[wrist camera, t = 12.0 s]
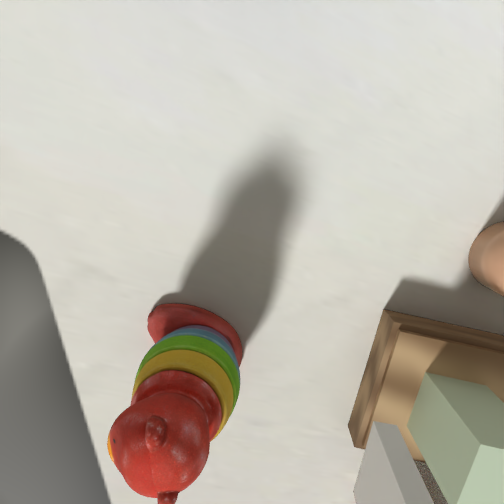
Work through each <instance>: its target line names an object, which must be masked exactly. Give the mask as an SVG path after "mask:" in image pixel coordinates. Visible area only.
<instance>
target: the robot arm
mask: <svg viewBox="0 0 504 504" xmlns="http://www.w3.org/2000/svg"><path fill="white" fill-rule="evenodd" d="M353 492H354V496H355V500H356V504H434V502H433V500H432V498H431V496H430V494H429V492H428V490H427V487H426V485H425V483H424V481H423V479H422V477H421V475H420V473H419V471H418V469H417V466H416V464H415V462H414V460H413V458H412V456H411V454H410V452H409V450H408V447H407V445H406V443H405V441H404V439H403V437H402V435H401V433H400V431H399V428H398V426H397V425H393V424H387V423H382V422H376V421H373V424H372V427H371V431H370V434H369V438H368V441H367V445H366V449H365V452H364V456H363V459H362V463H361V466H360V470H359V473H358V477H357V480H356V484H355V487H354V491H353Z"/></svg>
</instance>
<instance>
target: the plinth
mask: <svg viewBox="0 0 504 504" xmlns="http://www.w3.org/2000/svg"><path fill="white" fill-rule="evenodd" d="M425 372H428V373H432V374H437V375H441V376H446V377H450V378H455V379H459V380H464V381H468V382H473V383H477V384H482V385H486V386H487V387H488V388H489V389H490V390H491V391H492V392H493V393H494V394H495V395H496V396H497V397H498V398H499V399H500V400H501V401H502V402H503V403H504V336H503V335H499V334H494V333H490V332H485V331H481V330H476V329H471V328H467V327H462V326H458V325H453V324H449V323H444V322H440V321H435V320H431V319H426V318H421V317H417V316H412V315H408V314H403V313H399V312H394V311H390V310H385V309H383V313H382V316H381V319H380V323H379V326H378V329H377V332H376V336H375V339H374V342H373V345H372V349H371V352H370V355H369V358H368V362H367V365H366V368H365V371H364V375H363V378H362V381H361V384H360V388H359V391H358V394H357V398H356V401H355V404H354V407H353V411H352V414H351V417H350V420H349V424H348V428H349V431H350V434H351V437H352V441H353V444H354V447H357V448H361V449H366V445H367V441H368V438H369V434H370V431H371V427H372V424H373V421H376V422H382V423H387V424H393V425H397V426H398V428H399V431H400V433H401V435H402V437H403V439H404V441H405V443H406V445H407V447H408V450H409V452H410V454H411V456H412V458H413V460H416V461H421V462H425V463H426V461H425V460H424V458H423V456H422V454H421V452H420V450H419V448H418V446H417V444H416V443H415V441H414V439H413V437H412V435H411V433H410V431H409V429H408V428H407V423H408V420H409V418H410V415H411V412H412V409H413V406H414V403H415V400H416V397H417V395H418V392H419V389H420V386H421V383H422V380H423V377H424V374H425Z"/></svg>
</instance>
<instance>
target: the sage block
mask: <svg viewBox="0 0 504 504" xmlns="http://www.w3.org/2000/svg"><path fill="white" fill-rule="evenodd" d="M407 428H408V429H409V431H410V433H411V435H412V437H413V439H414V441H415V443H416V444H417V446H418V448H419V450H420V452H421V454H422V456H423V458H424V460H425V461H426V463H427V465H428V467H429V469H430V471H431V473H432V475H433V476H434V478H435V480H436V482H437V484H438V486H439V488H440V490H441V491H442V493H443V495H444V497H445V499H446V501H447V503H448V504H504V403H503V402H502V401H501V400H500V399H499V398H498V397H497V396H496V395H495V394H494V393H493V392H492V391H491V390H490V389H489V388H488V387H487V386H486V385H482V384H477V383H473V382H468V381H464V380H459V379H455V378H450V377H446V376H441V375H437V374H432V373H428V372H425V374H424V377H423V380H422V383H421V386H420V389H419V392H418V395H417V397H416V400H415V403H414V406H413V409H412V412H411V415H410V418H409V420H408V423H407Z"/></svg>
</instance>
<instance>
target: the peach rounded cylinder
mask: <svg viewBox="0 0 504 504" xmlns="http://www.w3.org/2000/svg"><path fill="white" fill-rule="evenodd" d="M469 268H470V271H471V273H472V275H473V276H474V278H475V279H476V280H477V281H478V282H479V283H480V284H482V285H483V286H485V287H487V288H489V289H490V290H492V291H494V292H496V293H498V294H500V295H501V296H503V297H504V221H503V222H499V223H496V224H493V225H491V226H489V227H488V228H486V229H485V230H483V231H482V232H481V233H480V234H479V235H478V236H477V237H476V239H475V240H474V242H473V244H472V246H471V248H470V252H469Z"/></svg>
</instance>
